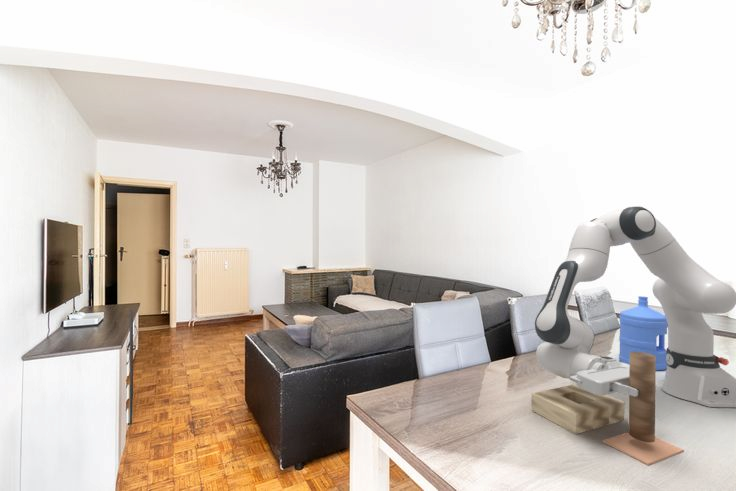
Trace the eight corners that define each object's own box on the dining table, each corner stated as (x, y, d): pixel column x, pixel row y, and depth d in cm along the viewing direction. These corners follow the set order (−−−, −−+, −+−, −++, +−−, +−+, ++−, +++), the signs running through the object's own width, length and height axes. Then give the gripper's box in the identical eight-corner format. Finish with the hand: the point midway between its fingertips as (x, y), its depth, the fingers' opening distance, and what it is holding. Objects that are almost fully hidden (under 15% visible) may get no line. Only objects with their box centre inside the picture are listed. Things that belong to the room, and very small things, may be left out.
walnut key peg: (647, 432, 87) (648, 352, 87) (659, 443, 82) (660, 358, 82) (624, 430, 88) (625, 350, 88) (635, 440, 83) (636, 357, 83)
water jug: (625, 367, 140) (626, 298, 140) (614, 356, 155) (615, 293, 155) (674, 373, 134) (675, 301, 134) (658, 361, 149) (658, 295, 149)
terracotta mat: (637, 430, 93) (637, 429, 93) (683, 451, 83) (683, 449, 83) (602, 441, 87) (602, 440, 87) (648, 465, 78) (648, 463, 78)
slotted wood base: (577, 399, 111) (577, 383, 111) (624, 419, 98) (624, 402, 98) (531, 410, 103) (531, 393, 103) (575, 434, 91) (575, 415, 91)
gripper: (564, 364, 93) (619, 384, 80) (614, 356, 101) (671, 372, 88) (564, 388, 93) (618, 411, 80) (613, 377, 101) (670, 397, 88)
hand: (646, 391), depth 84 cm, fingers closed on walnut key peg, 5 cm apart
